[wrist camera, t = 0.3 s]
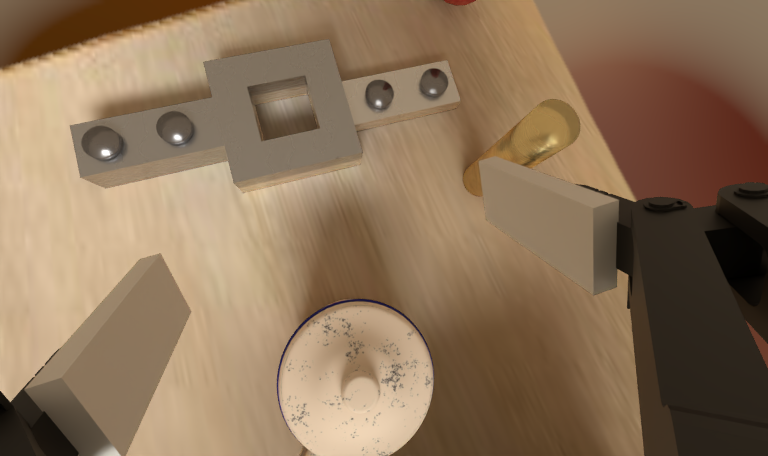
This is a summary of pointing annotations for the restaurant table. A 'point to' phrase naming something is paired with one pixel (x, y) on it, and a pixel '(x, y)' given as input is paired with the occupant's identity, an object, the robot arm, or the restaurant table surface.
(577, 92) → the restaurant table surface
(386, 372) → the teacup with lid
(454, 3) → the onion
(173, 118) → the studded slotted bracket
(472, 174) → the brass pin
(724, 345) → the robot arm
